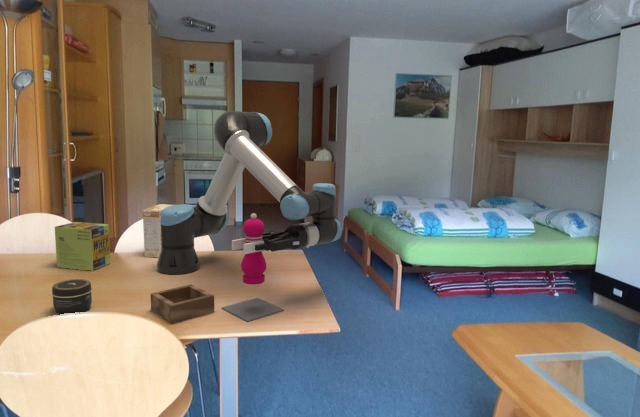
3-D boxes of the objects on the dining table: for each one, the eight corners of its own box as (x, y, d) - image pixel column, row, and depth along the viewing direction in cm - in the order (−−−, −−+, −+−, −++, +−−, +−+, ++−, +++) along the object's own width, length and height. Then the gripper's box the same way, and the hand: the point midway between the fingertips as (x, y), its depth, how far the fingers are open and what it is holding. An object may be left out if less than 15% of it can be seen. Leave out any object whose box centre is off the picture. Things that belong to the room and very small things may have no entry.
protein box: (93, 271, 174) (91, 229, 172) (56, 268, 177) (53, 226, 175) (111, 263, 184) (109, 223, 182) (76, 260, 187) (73, 221, 185)
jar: (65, 302, 144) (64, 277, 142) (99, 303, 143) (97, 279, 142) (45, 315, 134) (44, 289, 132) (81, 316, 133) (79, 290, 132)
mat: (221, 308, 142) (221, 307, 142) (257, 298, 151) (257, 297, 151) (247, 322, 133) (247, 320, 133) (283, 310, 142) (284, 309, 141)
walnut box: (151, 310, 139) (150, 293, 139) (191, 299, 148) (191, 284, 148) (172, 323, 130) (171, 306, 129) (214, 312, 139) (214, 295, 138)
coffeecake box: (161, 248, 209) (159, 203, 206) (176, 249, 208) (175, 204, 205) (143, 257, 194) (141, 209, 191) (160, 258, 193) (158, 210, 190)
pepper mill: (270, 279, 142) (270, 212, 139) (259, 286, 135) (259, 216, 132) (248, 276, 145) (248, 210, 141) (236, 283, 138) (236, 214, 135)
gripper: (320, 253, 145) (257, 267, 129) (282, 242, 158) (220, 253, 142) (321, 228, 143) (257, 239, 128) (282, 219, 156) (220, 228, 140)
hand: (238, 247), depth 135 cm, fingers closed on pepper mill, 5 cm apart
